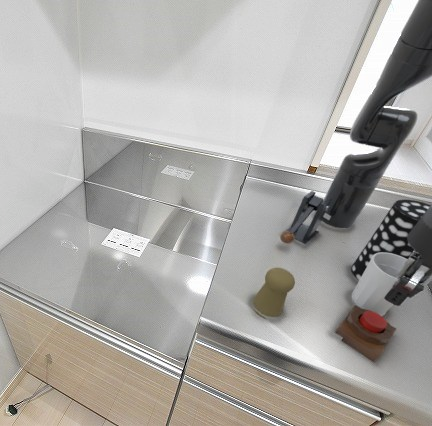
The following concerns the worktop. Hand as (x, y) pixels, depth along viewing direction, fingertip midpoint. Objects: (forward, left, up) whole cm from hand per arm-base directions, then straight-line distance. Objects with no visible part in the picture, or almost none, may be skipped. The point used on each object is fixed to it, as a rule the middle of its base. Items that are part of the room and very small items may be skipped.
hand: (392, 300), depth 52 cm
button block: (0, 0, -11) cm, 11 cm away
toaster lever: (-16, -22, -4) cm, 28 cm away
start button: (0, 0, -7) cm, 7 cm away
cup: (-9, -2, -11) cm, 14 cm away
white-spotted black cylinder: (-18, -4, -11) cm, 21 cm away
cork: (+9, -15, -11) cm, 21 cm away
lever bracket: (-21, -22, -11) cm, 32 cm away
